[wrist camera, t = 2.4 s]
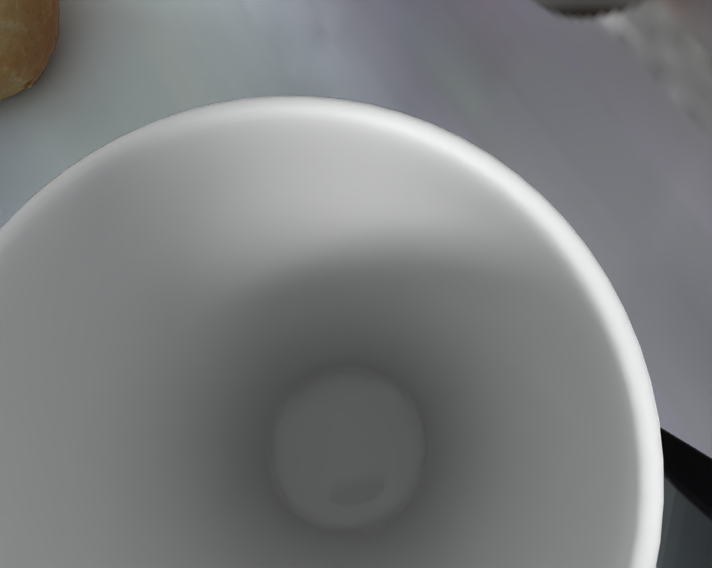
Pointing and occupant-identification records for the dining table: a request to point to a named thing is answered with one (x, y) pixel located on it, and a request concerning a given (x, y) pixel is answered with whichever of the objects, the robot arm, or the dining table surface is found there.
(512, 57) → the dining table surface
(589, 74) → the dining table surface
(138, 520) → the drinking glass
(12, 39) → the bread roll
